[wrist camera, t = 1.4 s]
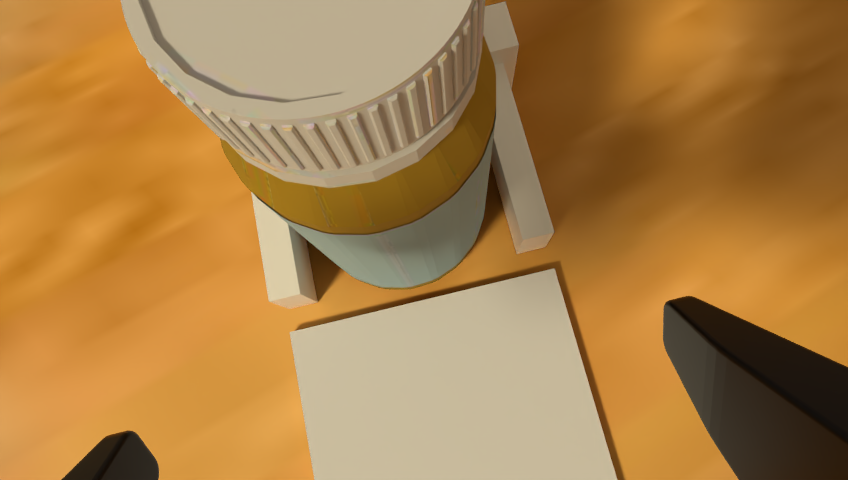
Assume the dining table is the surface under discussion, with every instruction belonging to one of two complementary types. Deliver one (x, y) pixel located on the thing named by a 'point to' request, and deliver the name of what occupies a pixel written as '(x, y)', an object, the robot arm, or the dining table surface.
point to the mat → (453, 390)
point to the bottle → (343, 118)
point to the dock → (508, 159)
